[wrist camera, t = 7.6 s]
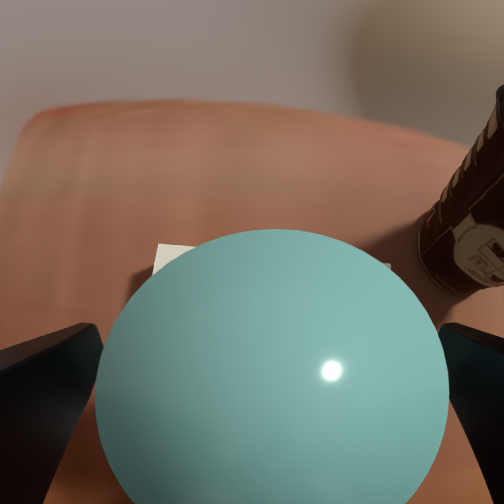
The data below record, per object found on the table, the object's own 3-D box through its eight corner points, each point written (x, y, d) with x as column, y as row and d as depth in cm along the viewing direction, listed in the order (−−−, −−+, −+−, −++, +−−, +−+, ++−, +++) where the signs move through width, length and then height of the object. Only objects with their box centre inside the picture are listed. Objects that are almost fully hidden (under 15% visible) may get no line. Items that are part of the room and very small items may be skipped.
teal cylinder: (291, 439, 14) (360, 584, 2) (200, 403, 14) (57, 470, 3) (328, 351, 15) (480, 298, 4) (238, 316, 16) (184, 184, 5)
